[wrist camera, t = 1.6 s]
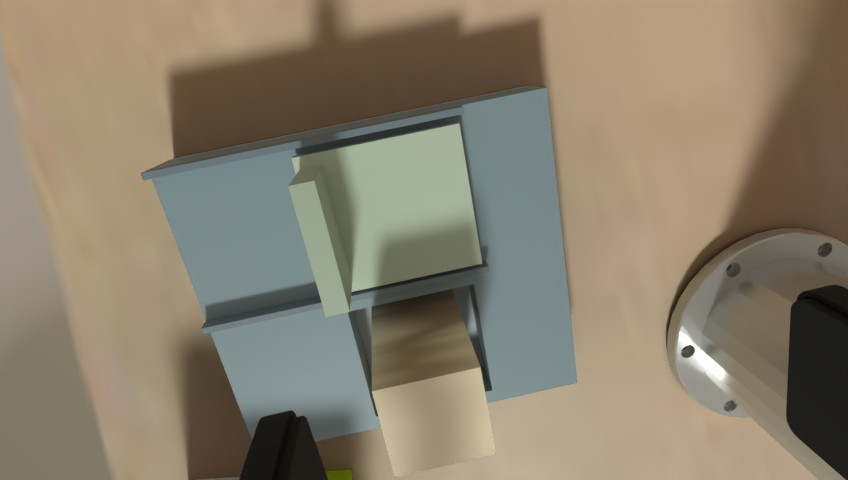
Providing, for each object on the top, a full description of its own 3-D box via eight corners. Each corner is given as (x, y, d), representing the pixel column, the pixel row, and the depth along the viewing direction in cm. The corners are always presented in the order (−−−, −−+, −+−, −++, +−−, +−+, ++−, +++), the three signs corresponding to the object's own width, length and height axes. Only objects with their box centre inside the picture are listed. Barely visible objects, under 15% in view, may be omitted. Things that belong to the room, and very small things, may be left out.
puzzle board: (527, 85, 25) (552, 88, 22) (558, 353, 31) (583, 391, 27) (173, 158, 25) (140, 173, 21) (267, 418, 30) (254, 466, 27)
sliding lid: (457, 122, 22) (473, 132, 19) (479, 259, 25) (498, 291, 21) (293, 156, 22) (278, 172, 19) (331, 291, 24) (324, 329, 21)
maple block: (450, 286, 28) (480, 367, 20) (463, 355, 30) (496, 453, 22) (371, 303, 28) (371, 391, 20) (388, 372, 29) (394, 477, 22)
